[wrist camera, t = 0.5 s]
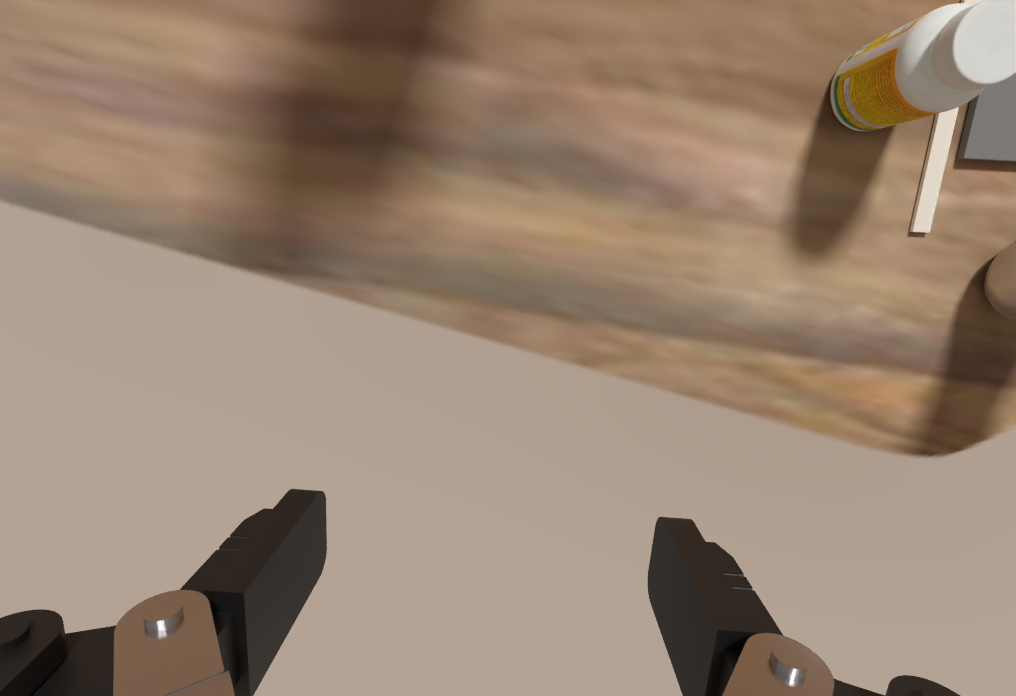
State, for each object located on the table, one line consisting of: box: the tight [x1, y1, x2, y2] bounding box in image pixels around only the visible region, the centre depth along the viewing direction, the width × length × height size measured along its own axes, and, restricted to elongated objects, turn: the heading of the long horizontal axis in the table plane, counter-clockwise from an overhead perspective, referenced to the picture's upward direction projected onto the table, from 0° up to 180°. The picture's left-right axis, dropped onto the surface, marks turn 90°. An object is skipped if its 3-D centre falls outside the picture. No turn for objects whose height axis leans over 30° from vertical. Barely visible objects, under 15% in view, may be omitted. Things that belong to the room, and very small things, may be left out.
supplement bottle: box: [830, 0, 1016, 131], centre depth 30 cm, size 5×5×10 cm
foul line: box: [909, 0, 984, 233], centre depth 34 cm, size 20×1×1 cm, turn 177°
